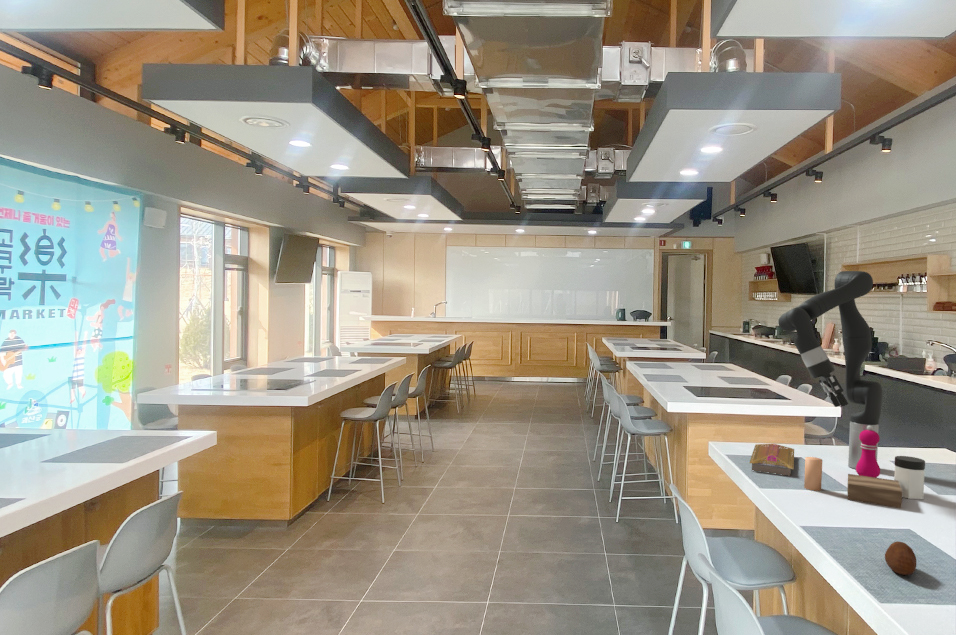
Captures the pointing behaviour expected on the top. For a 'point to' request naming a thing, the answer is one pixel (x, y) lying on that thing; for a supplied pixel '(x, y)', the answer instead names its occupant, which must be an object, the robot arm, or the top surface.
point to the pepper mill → (868, 454)
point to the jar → (910, 476)
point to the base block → (874, 490)
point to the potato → (901, 558)
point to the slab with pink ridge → (772, 458)
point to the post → (813, 473)
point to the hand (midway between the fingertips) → (841, 405)
